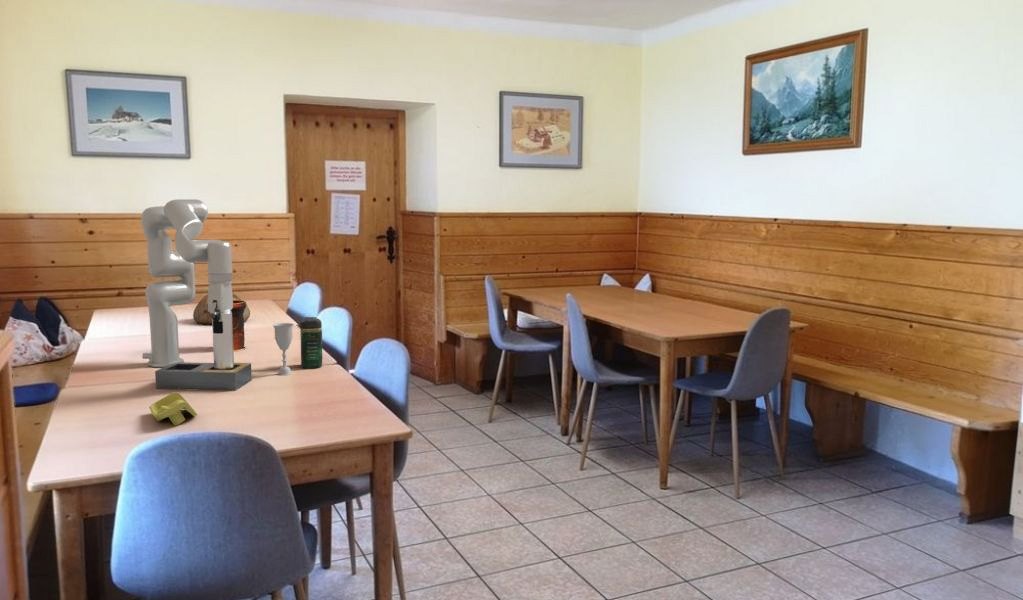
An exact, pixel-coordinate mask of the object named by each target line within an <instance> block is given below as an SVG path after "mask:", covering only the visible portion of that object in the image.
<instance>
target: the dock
mask: <svg viewBox="0 0 1023 600" xmlns="http://www.w3.org/2000/svg"><path fill="white" fill-rule="evenodd" d="M154 373H155V374H154V375H155V389H156V390H187V389H197V390H198V389H199V390H198V391H201V390H202V391H237V390H239V389H240V388H242V387H244V386H245V385H247V384H248V383H250V382H252V380H253V379H252V363H251V362H234V369H233V370H214V362H191V361H190V362H187V361H184V362H175V363H172V364H170V365H168V366H166V367H160V368H159V369H157V370H155V371H154ZM197 390H196V391H197Z"/></svg>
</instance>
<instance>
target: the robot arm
mask: <svg viewBox="0 0 1023 600" xmlns="http://www.w3.org/2000/svg"><path fill="white" fill-rule="evenodd" d="M208 215H209V210H208V207H207V204H205V203H204V201H202V200H201V199H196V198H194V199H191V198H190V199H186V198H185V199H181V198H179V199H172V200H169V201H167V203H165V205H164V206H162V205H160V206H150V207H148V208H145V209H144V210H143V211H142V214H141V218H140V220H141V226H142V227H141V228H142V231H143V233H144V236H145V239H146V248H147V249H146V251H147V263H148V272H149V274H150V275H151V276H152V277H153V278H174V277H177V278H178V279H175V280H163V281H162V280H159V281H154V282H151V283H149V284H148V285H147V286H146V288H145V291H144V292H145V298H146V299H145V300H146V302H147V309H148V313H149V315H148V316H149V329H150V330H149V331H150V345H151V348H150V350H151V352H143V353H142V357H141V358H142V359H145V360H146V359H148V361H147V366H148V367H152V368H163V367H166V366H168V365H170V364H172V363H175V362H185V360H184V359H183V358H181V357H180V345H179V343H180V342H179V341H180V340H179V325H178V323H179V322H178V316H177V314H176V313H175V312H174V311H173V309H171V307H174V306H180V305H181V306H182V305H183V306H184V305H189V304H191V303H193V302H194V301H195V298H196V278H195V276H196V275H195V264H194V263H207V273H208V275H207V278H208V290H207V291H208V292H207V295H208V312H209V313H210V314H211V317H212V322H213V329H212V334H213V333H217V334H222V333H223V321H222V314H223V313H224V312H225V311H226V310H229V309H230V311H231V312H232V308H233V294H232V293H233V286H232V283H233V261H232V259H233V258H232V245H231V243H230V242H228V241H226V240H225V241H222V240H220V239H196V238H197V237H198V236H200V234H201V233H202V232H203V228H204V225H203V224H204V223H205V222H206V220H207V219H208V217H209V216H208ZM166 230H176V231H175V235H174V245H175V249H176V251H173V241H172V237H171V236H170V235H169V234H168V232H167V231H166ZM216 311H219V312H216ZM216 314H219V316H218V315H216Z"/></svg>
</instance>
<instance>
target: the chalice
mask: <svg viewBox="0 0 1023 600" xmlns="http://www.w3.org/2000/svg"><path fill="white" fill-rule="evenodd" d="M272 326H273V328H274V340H275V342H276V344H277V346H278V348H279V350H280V351H282V354H281V356H282V360H281V361H282V363H283V365H282V366H281V367H280V368H279V370H278V373H277V375H278V374H279V375H278V376H290V375H292V374H293V372H292V370H291V368H290V366H287V362H288V360H287V352H286V351H287V350H288V349H289V347H290V345H291V344H292V341H293V337H294V336H293V326H294V323H289V322H279V323H273V324H272ZM289 374H290V375H289Z"/></svg>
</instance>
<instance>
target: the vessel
mask: <svg viewBox="0 0 1023 600" xmlns="http://www.w3.org/2000/svg"><path fill="white" fill-rule="evenodd" d="M246 304H247V302H246V301H245V300H244V301H239V300H233V308H232V328H233V352H240V350H241V349H244V348H245V347H246V346H245V342H246V341H245V339H246V338H245V322H244V317H243V313H244V310H245V308H246ZM244 346H245V347H244ZM245 349H246V348H245ZM245 349H244V350H245ZM241 351H242V350H241Z"/></svg>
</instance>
